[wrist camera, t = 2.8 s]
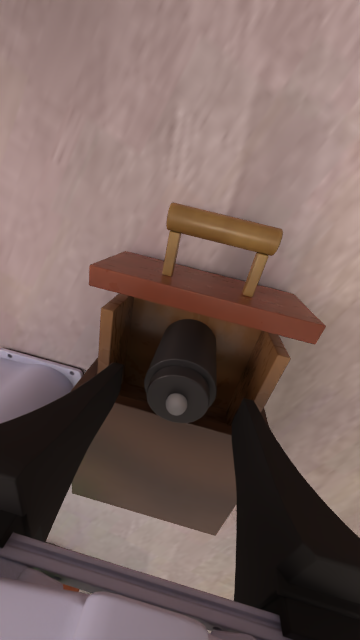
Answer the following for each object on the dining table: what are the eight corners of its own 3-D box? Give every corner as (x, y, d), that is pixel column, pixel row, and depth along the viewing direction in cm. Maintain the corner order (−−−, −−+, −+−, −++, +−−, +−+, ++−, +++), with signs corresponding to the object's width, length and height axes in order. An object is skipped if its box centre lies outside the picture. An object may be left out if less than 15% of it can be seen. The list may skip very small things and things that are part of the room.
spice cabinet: (113, 338, 21) (70, 390, 15) (256, 377, 21) (274, 447, 15) (104, 429, 27) (71, 493, 21) (215, 460, 27) (215, 536, 21)
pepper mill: (158, 357, 19) (130, 428, 13) (168, 312, 17) (140, 369, 11) (207, 370, 19) (204, 449, 13) (223, 326, 17) (228, 393, 11)
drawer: (131, 192, 15) (91, 181, 10) (320, 239, 14) (372, 250, 10) (112, 375, 22) (84, 418, 17) (237, 410, 22) (244, 464, 17)
